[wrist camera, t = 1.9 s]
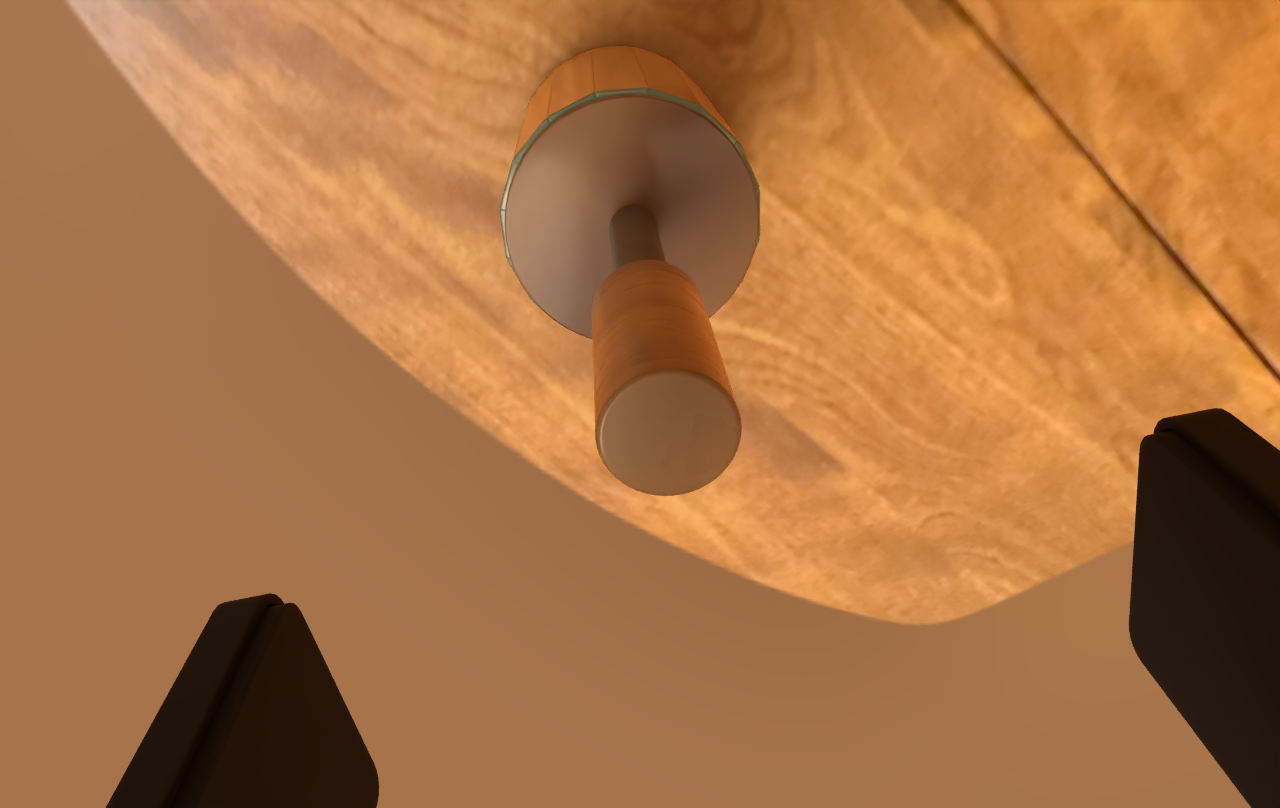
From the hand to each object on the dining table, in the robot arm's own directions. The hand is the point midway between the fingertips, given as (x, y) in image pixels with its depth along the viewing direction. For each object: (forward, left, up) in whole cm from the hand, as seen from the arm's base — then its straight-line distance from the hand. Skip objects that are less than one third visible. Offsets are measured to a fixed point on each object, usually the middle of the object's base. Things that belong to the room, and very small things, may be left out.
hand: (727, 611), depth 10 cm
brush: (0, 0, -23) cm, 23 cm away
